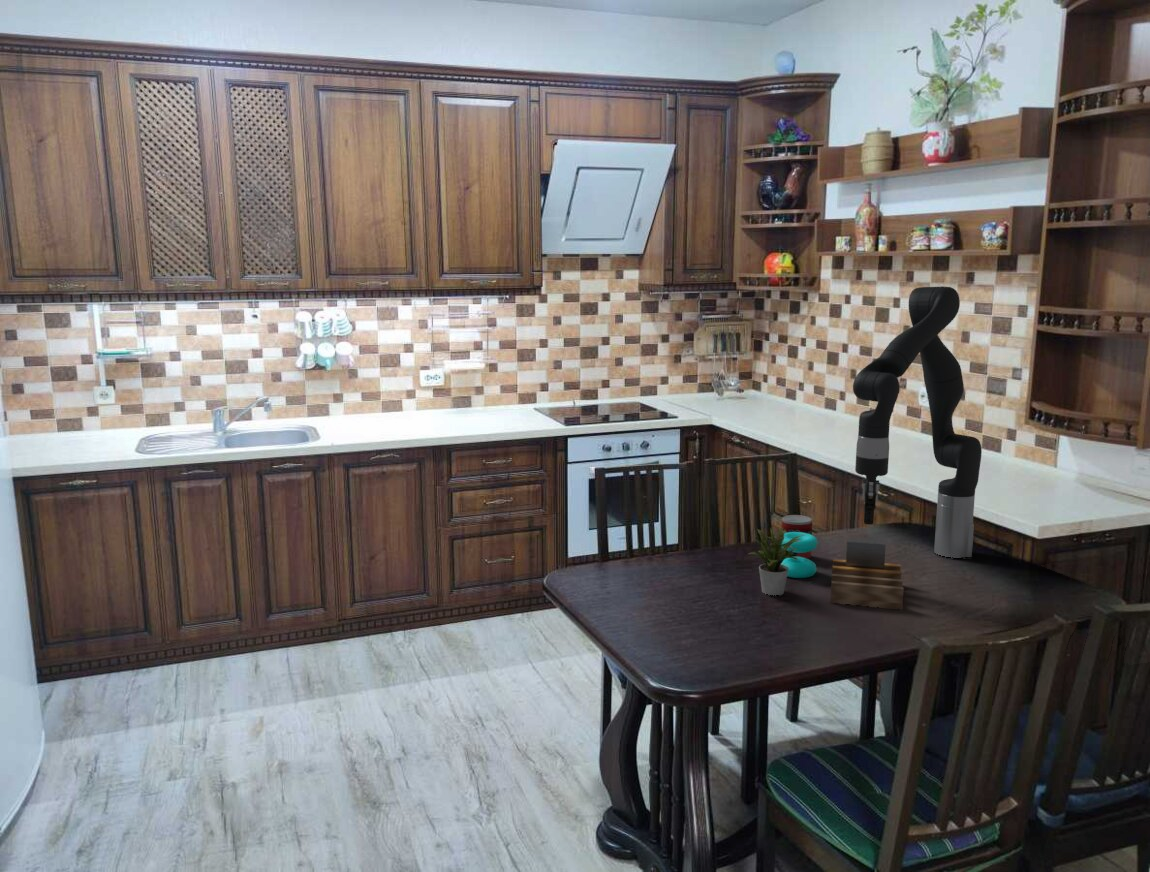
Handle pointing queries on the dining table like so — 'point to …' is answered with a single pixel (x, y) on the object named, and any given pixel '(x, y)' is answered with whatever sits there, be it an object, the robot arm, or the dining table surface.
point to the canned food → (797, 529)
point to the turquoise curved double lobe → (802, 565)
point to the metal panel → (865, 554)
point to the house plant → (774, 563)
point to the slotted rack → (867, 586)
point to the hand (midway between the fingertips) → (868, 523)
